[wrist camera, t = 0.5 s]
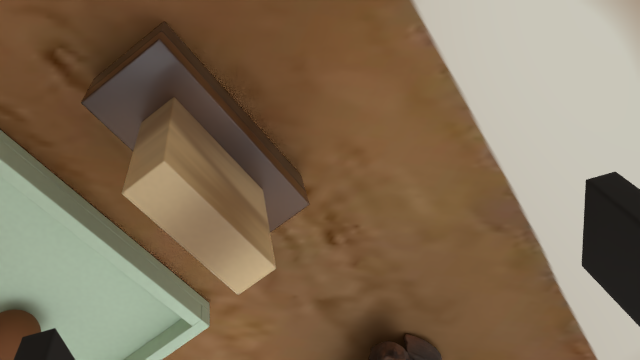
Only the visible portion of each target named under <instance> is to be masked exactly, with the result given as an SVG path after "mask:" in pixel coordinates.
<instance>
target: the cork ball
mask: <svg viewBox="0 0 640 360" xmlns="http://www.w3.org/2000/svg"><path fill="white" fill-rule="evenodd" d="M39 332H41V327H40V324H39V322H38V321H37V319H36V318H35V317H34V316H33V315H32V314H30V313H28V312H26V311H23V310H17V309H13V310H7V311H3V312H1V313H0V360H14V357H15V355H16V352H17V350H18V347H19V345H20V342H21V340H22V337H25V336H28V335H32V334H35V333H39Z"/></svg>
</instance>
